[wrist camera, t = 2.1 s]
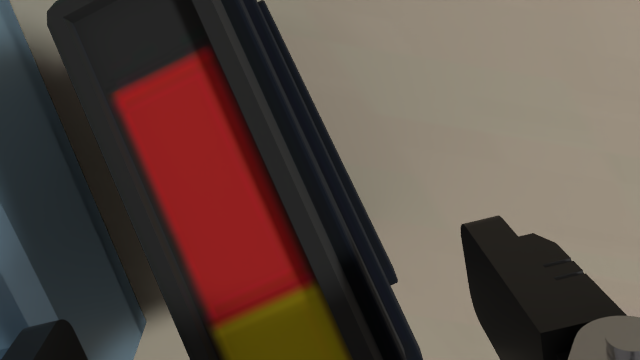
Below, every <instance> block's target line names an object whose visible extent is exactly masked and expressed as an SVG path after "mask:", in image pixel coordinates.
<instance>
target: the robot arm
mask: <svg viewBox="0 0 640 360" xmlns="http://www.w3.org/2000/svg"><path fill="white" fill-rule="evenodd" d="M461 238H462V245H463V251H464V257H465V264H466V270H467V276H468V283H469V289H470V294H471V299H472V303H473V306H474V309H475V312H476V315H477V317H478V320H479V322H480V324H481V326H482V327H483V329H484V331H485V333H486V335H487V336H488V338H489V340H490V342H491V344H492V345H493V347H494V349H495V351H496V353H497V354H498V356H499V358H500V360H640V317H634V316H627V315H626V314H625V313H624V312H623V311H622V310H621V309H620V308H619V307H618V306H617V305H616V304H615V303H614V302H613V301H612V300H611V299H610V298H609V297H608V296H607V295H606V294H605V293H604V292H603V291H602V290H601V289H600V288H599V286H598V285H597V284H596V283H595V282H594V281H593V280H592V279H591V278H590V277H589V276H588V275H587V274H584V273H583V270H582V269H581V268H580V267H579V266H578V265H577V264H576V263H575V262H574V261H571V258H570V257H569V256H568V255H567V254H566V253H565V252H564V251H563V250H562V249H561V248H560V247H559V246H558V245H557V244H556V243H554V242H552V241H550V240H548V239H545V238H543V237H541V236H538V235H536V234H534V233H532V234H528V235H524V236H520V237H518V236H517V235H516V234H515V232H514V231H513V230H512V229H511V228H510V227H509V225H508V224H507V223H506V222H505V221H504V220H503V219H502V218H501V217H500V216H494V217H490V218H486V219H482V220H478V221H474V222H469V223H465V224H462V225H461ZM0 360H88V358H87V356H86V354H85V352H84V350H83V348H82V346H81V343H80V341H79V339H78V337H77V335H76V333H75V331H74V329H73V327H72V326H71V324H70V323H69V322H68V321H66V320H64V319H60V320H56V321H52V322H48V323H44V324H39V325H35V326H31V327H27V328H24V329H23V330H22V331H21V332H20V333H19V334H18V336H17V337H16V339H15V340H14V342H13V343H12V344H11V346H10V347H9V349H8V350H7V352H6V353H5V355H4V356H3V357H2V359H0Z"/></svg>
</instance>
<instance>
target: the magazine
mask: <svg viewBox="0 0 640 360" xmlns="http://www.w3.org/2000/svg"><path fill="white" fill-rule="evenodd" d="M47 26H48V28H49V30H50V33H51V35H52V37H53V40H54V42H55V44H56V47H57V49H58V51H59V54H60V56H61V58H62V61H63V63H64V66H65V68H66V70H67V73H68V75H69V77H70V80H71V82H72V84H73V87H74V89H75V91H76V94H77V96H78V98H79V101H80V103H81V105H82V108H83V110H84V112H85V115H86V117H87V119H88V122H89V124H90V126H91V129H92V131H93V133H94V136H95V138H96V140H97V143H98V145H99V147H100V150H101V152H102V154H103V157H104V159H105V161H106V164H107V166H108V168H109V171H110V173H111V176H112V178H113V180H114V183H115V185H116V187H117V190H118V192H119V194H120V197H121V199H122V201H123V204H124V206H125V208H126V211H127V213H128V215H129V218H130V220H131V222H132V225H133V227H134V229H135V232H136V234H137V236H138V239H139V241H140V243H141V246H142V248H143V250H144V253H145V255H146V257H147V260H148V262H149V264H150V267H151V269H152V271H153V274H154V276H155V278H156V281H157V283H158V286H159V288H160V290H161V293H162V295H163V297H164V300H165V302H166V304H167V307H168V309H169V311H170V314H171V316H172V318H173V321H174V323H175V325H176V328H177V330H178V332H179V335H180V337H181V339H182V342H183V344H184V346H185V349H186V351H187V353H188V356H189V358H190V360H423V358H422V354H421V351H420V348H419V346H418V344H417V341H416V339H415V337H414V335H413V333H412V331H411V329H410V327H409V324H408V322H407V320H406V318H405V316H404V314H403V312H402V309H401V307H400V305H399V303H398V301H397V299H396V297H395V295H394V292H393V290H392V288H391V286H390V285H393V284H395V283H397V282H398V280H397V277H396V274H395V271H394V268H393V266H392V264H391V262H390V260H389V258H388V256H387V254H386V252H385V250H384V248H383V246H382V243H381V241H380V239H379V237H378V235H377V233H376V231H375V229H374V227H373V225H372V223H371V221H370V219H369V217H368V214H367V212H366V210H365V208H364V206H363V204H362V202H361V200H360V198H359V196H358V194H357V192H356V190H355V188H354V185H353V183H352V181H351V179H350V177H349V175H348V173H347V171H346V169H345V167H344V165H343V163H342V161H341V159H340V157H339V154H338V152H337V150H336V148H335V146H334V144H333V142H332V140H331V138H330V136H329V134H328V132H327V130H326V128H325V125H324V123H323V121H322V119H321V117H320V115H319V113H318V111H317V109H316V107H315V105H314V103H313V101H312V99H311V97H310V94H309V92H308V90H307V88H306V86H305V84H304V82H303V80H302V78H301V76H300V74H299V72H298V70H297V68H296V65H295V63H294V61H293V59H292V57H291V55H290V53H289V51H288V49H287V47H286V45H285V43H284V41H283V39H282V36H281V34H280V32H279V30H278V28H277V26H276V24H275V22H274V20H273V18H272V16H271V14H270V12H269V10H268V8H267V5H266V3H265V1H263V0H261V1H259V2H257V0H58V1H56V2H55V3H54V4H53V5H52V7H51V8H50V9H49V10H48V11H47Z"/></svg>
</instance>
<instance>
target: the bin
mask: <svg viewBox="0 0 640 360" xmlns="http://www.w3.org/2000/svg"><path fill="white" fill-rule="evenodd" d="M60 319H64V320H66V321H68V322H69V323H70V324H71V326H72V327H73V329H74V331H75V333H76V335H77V337H78V339H79V341H80V343H81V346H82V348H83V350H84V352H85V354H86V356H87V358H88V360H133V359H134V356H135V353H136V350H137V348H138V345H139V342H140V339H141V336H142V333H143V331H144V328H145V325H146V320H145V318H144V316H143V313H142V311H141V309H140V306H139V304H138V302H137V299H136V297H135V294H134V292H133V290H132V287H131V285H130V283H129V280H128V278H127V276H126V273H125V271H124V269H123V266H122V264H121V262H120V259H119V257H118V255H117V252H116V250H115V248H114V245H113V243H112V241H111V238H110V236H109V234H108V231H107V229H106V227H105V224H104V222H103V220H102V217H101V215H100V213H99V210H98V208H97V205H96V203H95V201H94V198H93V196H92V194H91V191H90V189H89V187H88V184H87V182H86V180H85V177H84V175H83V173H82V170H81V168H80V166H79V163H78V161H77V159H76V156H75V154H74V152H73V149H72V147H71V145H70V142H69V140H68V138H67V135H66V133H65V131H64V128H63V126H62V123H61V121H60V119H59V116H58V114H57V112H56V109H55V107H54V105H53V102H52V100H51V98H50V95H49V93H48V91H47V88H46V86H45V84H44V81H43V79H42V77H41V74H40V72H39V70H38V67H37V65H36V63H35V60H34V58H33V56H32V53H31V51H30V49H29V46H28V44H27V41H26V39H25V37H24V34H23V32H22V30H21V27H20V25H19V23H18V20H17V18H16V16H15V13H14V11H13V9H12V6H11V4H10V2H9V0H0V359H2V357H3V356H4V355H5V353H6V352H7V350H8V349H9V347H10V346H11V344H12V343H13V342H14V340H15V339H16V337H17V336H18V334H19V333H20V332H21V331H22V330H23V329H24V328H27V327H31V326H35V325H39V324H44V323H48V322H52V321H56V320H60Z"/></svg>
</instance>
